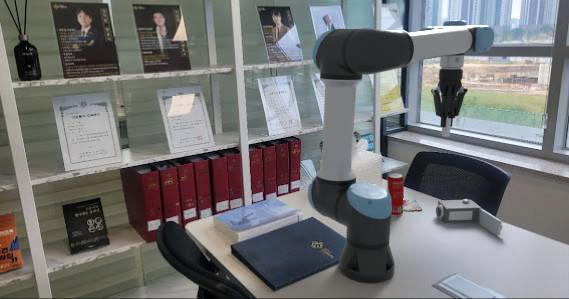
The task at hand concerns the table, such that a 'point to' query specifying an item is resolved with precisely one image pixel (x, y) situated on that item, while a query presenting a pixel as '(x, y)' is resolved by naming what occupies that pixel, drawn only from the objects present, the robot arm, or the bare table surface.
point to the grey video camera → (458, 211)
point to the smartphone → (411, 206)
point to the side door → (489, 221)
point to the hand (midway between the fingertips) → (445, 136)
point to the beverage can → (396, 192)
